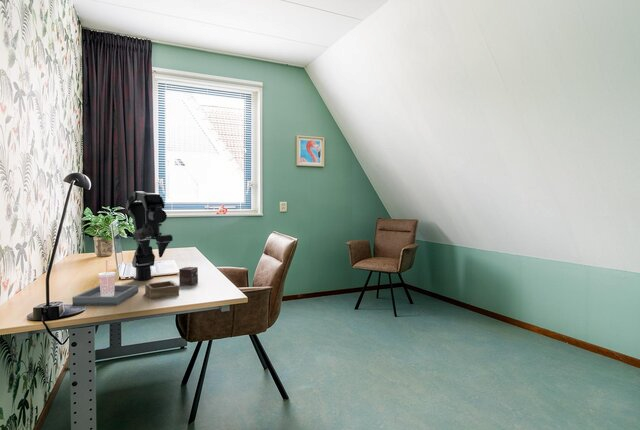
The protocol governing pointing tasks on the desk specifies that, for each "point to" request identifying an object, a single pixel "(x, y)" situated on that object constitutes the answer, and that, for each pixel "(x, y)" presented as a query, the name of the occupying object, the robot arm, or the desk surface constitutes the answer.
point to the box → (188, 276)
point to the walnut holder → (161, 289)
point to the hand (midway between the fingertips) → (153, 256)
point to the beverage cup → (107, 283)
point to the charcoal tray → (95, 297)
